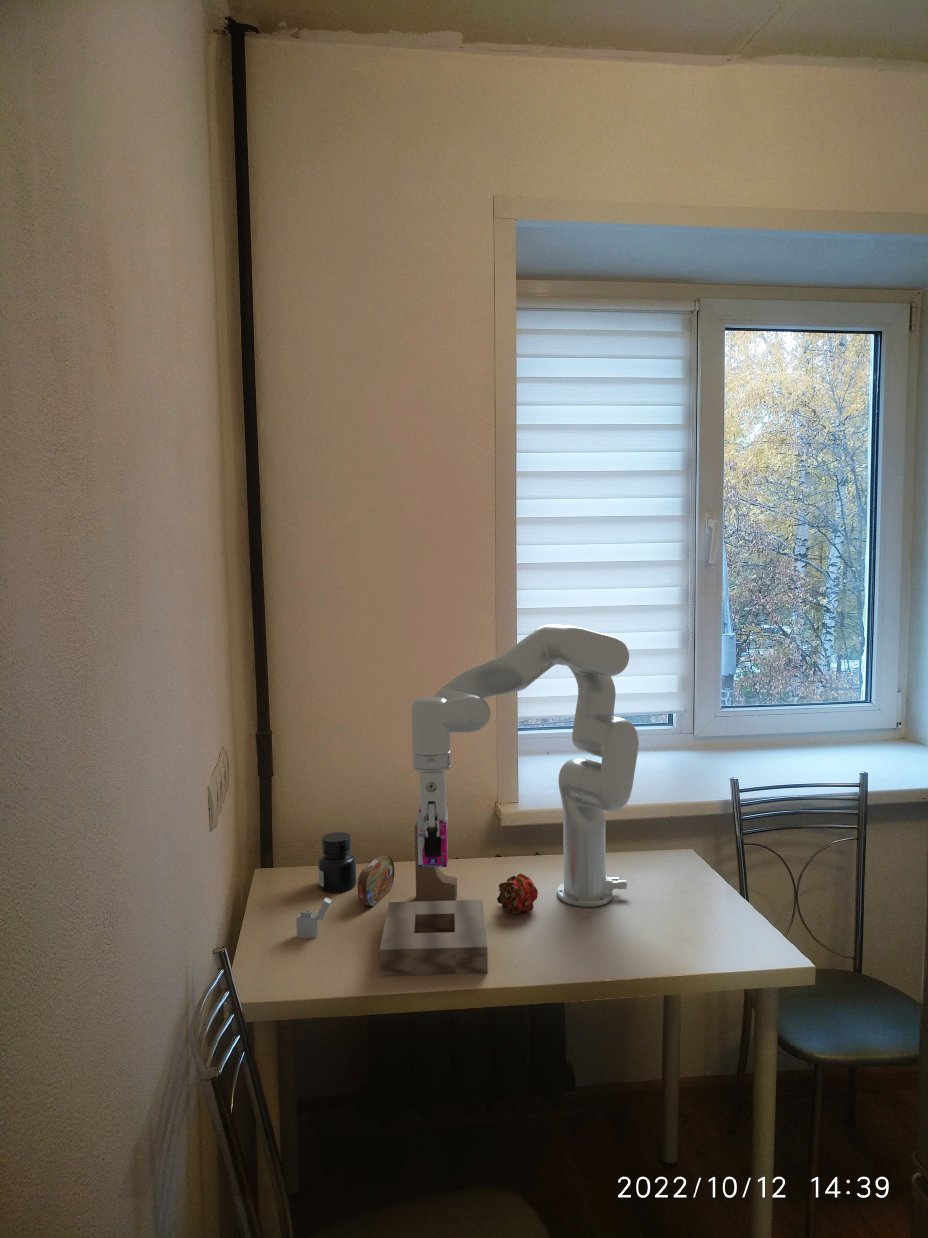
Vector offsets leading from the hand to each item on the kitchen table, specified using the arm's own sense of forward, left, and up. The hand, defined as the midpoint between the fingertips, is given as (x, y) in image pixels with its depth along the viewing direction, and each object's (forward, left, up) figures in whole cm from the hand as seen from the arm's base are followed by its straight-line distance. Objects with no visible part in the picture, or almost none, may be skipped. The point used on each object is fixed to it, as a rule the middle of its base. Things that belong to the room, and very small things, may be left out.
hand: (433, 849), depth 147 cm
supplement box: (0, 0, -3) cm, 3 cm away
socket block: (0, 0, -20) cm, 20 cm away
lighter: (+25, -6, -20) cm, 33 cm away
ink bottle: (+24, -31, -20) cm, 44 cm away
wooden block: (0, -22, -20) cm, 30 cm away
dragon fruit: (-18, -16, -20) cm, 31 cm away
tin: (+14, -24, -20) cm, 34 cm away
